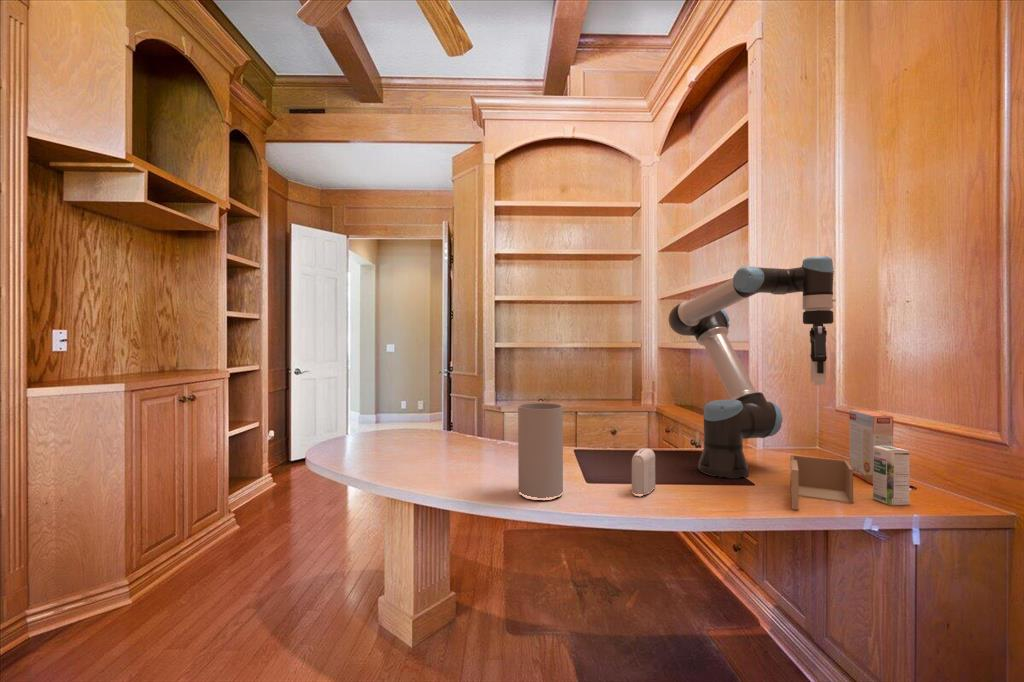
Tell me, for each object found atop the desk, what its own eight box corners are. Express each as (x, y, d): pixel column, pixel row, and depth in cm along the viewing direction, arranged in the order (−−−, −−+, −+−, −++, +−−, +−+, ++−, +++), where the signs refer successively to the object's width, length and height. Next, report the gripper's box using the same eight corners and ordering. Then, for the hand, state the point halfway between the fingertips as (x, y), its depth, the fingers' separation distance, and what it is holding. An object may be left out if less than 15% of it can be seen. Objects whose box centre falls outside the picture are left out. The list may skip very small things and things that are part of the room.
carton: (791, 495, 132) (791, 463, 132) (790, 485, 142) (790, 455, 142) (853, 503, 126) (853, 469, 126) (847, 492, 135) (847, 460, 135)
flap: (790, 495, 131) (790, 459, 131) (797, 496, 131) (796, 460, 131) (791, 508, 121) (791, 469, 121) (798, 509, 120) (798, 470, 120)
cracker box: (895, 486, 140) (894, 415, 140) (872, 485, 141) (871, 415, 141) (869, 473, 154) (869, 409, 154) (848, 472, 155) (848, 408, 155)
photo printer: (642, 486, 141) (642, 444, 141) (657, 489, 139) (657, 446, 139) (629, 495, 133) (629, 451, 133) (644, 498, 130) (644, 453, 130)
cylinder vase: (556, 504, 126) (556, 410, 126) (512, 499, 130) (511, 407, 130) (567, 490, 137) (567, 404, 137) (526, 486, 142) (526, 402, 142)
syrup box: (871, 498, 129) (871, 445, 129) (891, 498, 130) (891, 445, 130) (890, 506, 124) (889, 450, 124) (910, 505, 124) (910, 449, 124)
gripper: (838, 307, 125) (838, 387, 125) (828, 312, 147) (829, 380, 147) (805, 308, 129) (805, 386, 129) (800, 313, 151) (800, 379, 151)
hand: (818, 383), depth 138 cm, fingers open, 13 cm apart
